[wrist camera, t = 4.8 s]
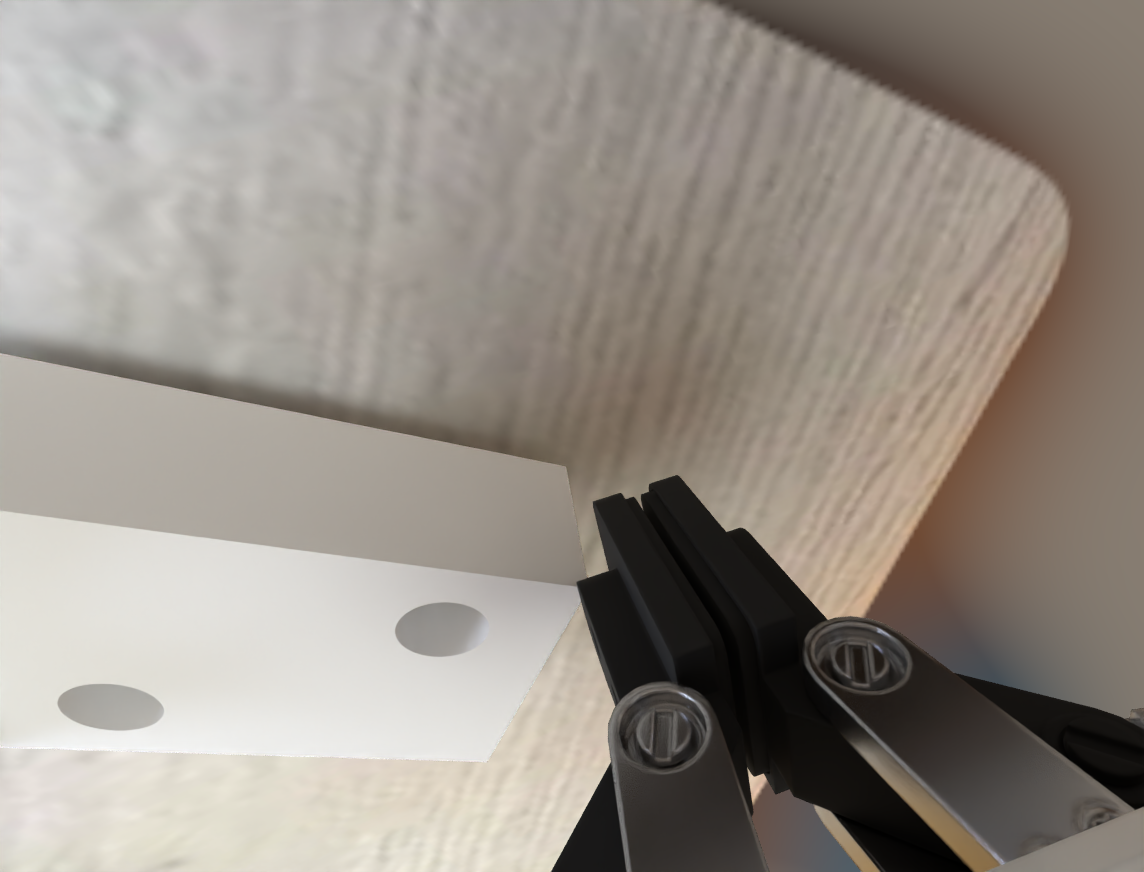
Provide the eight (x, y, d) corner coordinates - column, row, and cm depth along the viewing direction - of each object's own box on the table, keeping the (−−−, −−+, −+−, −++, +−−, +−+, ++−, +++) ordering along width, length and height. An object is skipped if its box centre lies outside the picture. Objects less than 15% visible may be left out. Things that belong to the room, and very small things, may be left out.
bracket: (-60, 586, 14) (-466, 1051, 8) (-158, 321, 10) (-1104, 841, 4) (485, 639, 18) (490, 970, 12) (566, 466, 14) (633, 828, 8)
